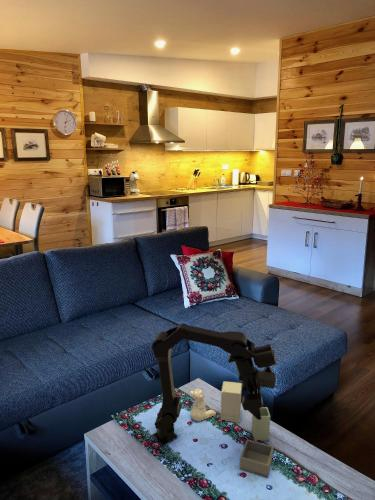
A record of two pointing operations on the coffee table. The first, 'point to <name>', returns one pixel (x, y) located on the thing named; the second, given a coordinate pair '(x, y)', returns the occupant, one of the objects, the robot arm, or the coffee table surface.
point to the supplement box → (231, 401)
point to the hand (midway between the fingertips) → (259, 410)
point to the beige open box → (261, 425)
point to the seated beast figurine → (200, 406)
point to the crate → (256, 458)
